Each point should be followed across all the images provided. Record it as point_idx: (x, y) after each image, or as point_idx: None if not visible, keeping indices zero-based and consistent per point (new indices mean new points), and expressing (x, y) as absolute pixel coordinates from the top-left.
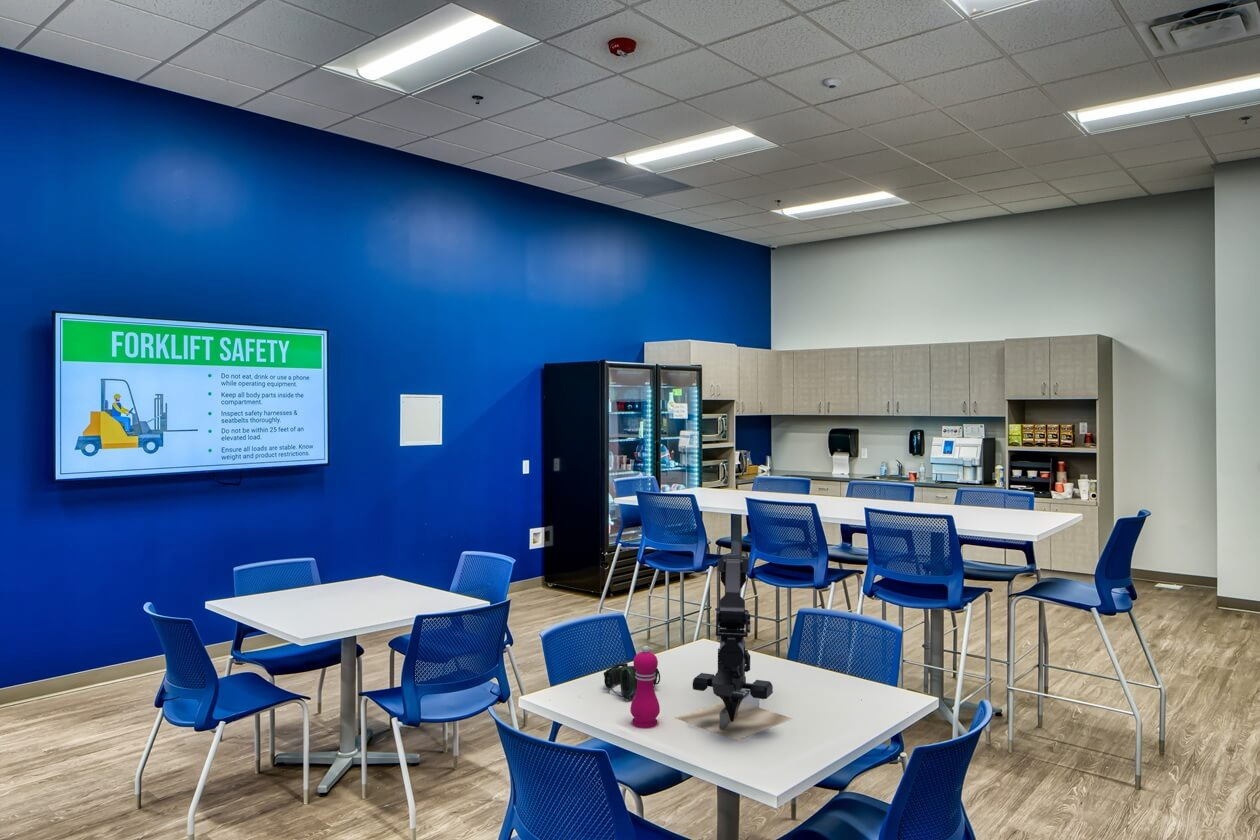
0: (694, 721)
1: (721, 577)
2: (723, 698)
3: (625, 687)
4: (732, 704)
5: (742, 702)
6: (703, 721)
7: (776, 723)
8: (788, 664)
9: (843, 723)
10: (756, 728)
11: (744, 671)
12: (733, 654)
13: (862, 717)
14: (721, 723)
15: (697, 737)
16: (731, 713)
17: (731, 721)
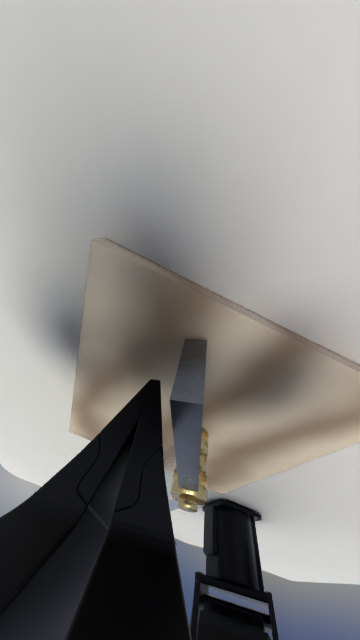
0: (331, 390)
1: None
2: (146, 586)
3: None
4: (96, 478)
5: (166, 484)
6: (287, 394)
7: (77, 409)
8: (178, 536)
9: (15, 426)
10: (98, 375)
11: (204, 575)
12: None
13: (16, 442)
14: (195, 354)
15: (310, 252)
16: (140, 411)
17: (158, 380)
